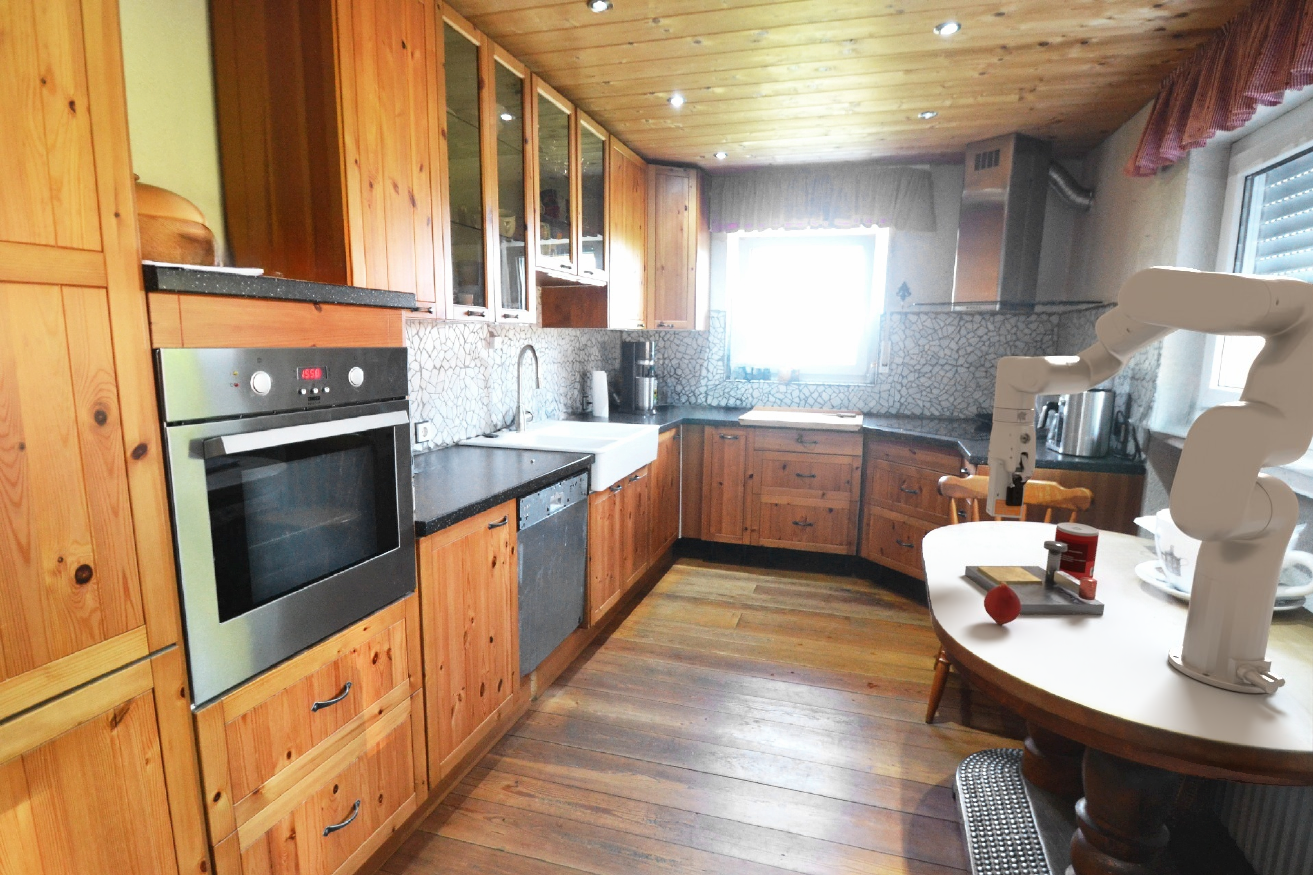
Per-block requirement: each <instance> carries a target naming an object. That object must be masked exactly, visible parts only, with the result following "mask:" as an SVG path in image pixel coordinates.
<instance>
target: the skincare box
mask: <svg viewBox="0 0 1313 875" xmlns="http://www.w3.org/2000/svg"><path fill="white" fill-rule="evenodd" d="M1015 472H1020V469H1016V471H1015ZM988 476H989V477H988V487H987V497H986V509H985V511H986V513H987V514H988V515H990V517H1001V518H1012V519H1022V518H1023V509H1024V501H1025V500H1024V499H1025V491H1026V490H1025V489H1026V487H1025V488H1024V489H1023V500H1022V506H1007V505H1006V504H1005V503H1006V492H1007V487H1010V486H1009V475H1008V472H1006V471H1005V470H1004V469H1003V461H1001V460H998V459H995V458H991V465H990V467H989V475H988ZM1017 476H1019V475H1014V478H1015V479H1016V478H1017Z"/></svg>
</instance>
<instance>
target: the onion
mask: <svg viewBox="0 0 1313 875" xmlns="http://www.w3.org/2000/svg"><path fill="white" fill-rule="evenodd" d="M983 606H984V610H985V612H986V613H987V614H988V616H989V617H990V618H991V619H992V620H993V621H994V623H995V624H997V625H999V626H1002V625H1006V624H1009V623H1012V622H1013V621H1015V620H1016V619H1017V618H1018V617H1019V616H1020V615H1019V614H1020V612H1021V602H1020V600H1019V598H1018V596H1017V594H1016V593H1015V592H1014V591H1013V590H1012V589H1011V588H1010V587H1009V586H1008V585H1007V584H1006V583H1005V582H1003V581H1002V582H1000V586H997V587H995V588H993V589H991V590H990V591H989V592H988V591H987V593H986V595H985V597H984V599H983Z"/></svg>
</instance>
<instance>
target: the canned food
mask: <svg viewBox="0 0 1313 875" xmlns="http://www.w3.org/2000/svg"><path fill="white" fill-rule="evenodd" d="M1099 532H1100V531H1099V530H1098V529H1097V528H1095V527H1093V526H1090V525H1088V524H1082V523H1078V522H1059V523H1057V524H1056V529H1055V535H1054V541H1057V542H1061V543H1064V544H1066V545H1067V551H1066V552H1061V559H1060V567H1059V571H1063V572H1065V573H1067V574H1069V575H1071V576H1072V577H1074V578H1076V579H1078V580H1080V579H1081V577H1088V578H1092V579H1094V571H1095V564H1096V558H1097V551H1098V543H1099V535H1100V534H1099Z"/></svg>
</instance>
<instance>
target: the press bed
mask: <svg viewBox="0 0 1313 875" xmlns="http://www.w3.org/2000/svg"><path fill="white" fill-rule="evenodd" d="M1043 549H1045V550H1047V551H1048V553H1047V559H1046V569H1044V568H1042V567H1041V566H1038V565H965V570H964V576H966V577H967V578H968V579H970V580H971V581H973V582H974V583H975V584H976V585H978V586H979V587H981V588H982V589H983V590H985V591H986V590H987V591H986V592H987V593H988V592H989V591H990V590H991V589H993V588H995V587H997V586H1000V582H1002V581H1003V582H1005V583H1006V584H1007V585H1008V586H1009V587H1010V588H1011V589H1012V590H1013V591H1014V592H1015V593H1016V594H1017V596H1018V598H1019V600H1020V602H1021V612H1020V615H1019V616H1022V615H1023V616H1025V615H1027V616H1030V615H1032V616H1034V615H1035V614H1036V615H1037V614H1038V615H1039V614H1043V615H1042V616H1044V615H1047V616H1049V615H1051V616H1052V615H1054V616H1055V615H1058V616H1059V615H1062V616H1063V615H1064V616H1066V615H1070V616H1071V615H1073V616H1076V615H1077V616H1078V615H1083V616H1084V615H1104V612H1105V603H1104V602H1103V603H1102V602H1101V601H1099V600H1097V599H1096V598H1095V600H1085V599H1082V598H1080V597H1079V596H1078V595H1077V594H1076V593H1074V592H1072V591H1070V590H1069V589H1067V588H1065V587H1064V586H1062V585H1060V584H1059V583H1057V582H1055V581H1054V573H1055V571H1059V567H1060V559H1061V552H1066V551H1067V545H1066V544H1064V543H1061V542H1057V541H1055V540H1045V541H1044V543H1043ZM1038 615H1037V616H1038Z"/></svg>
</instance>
